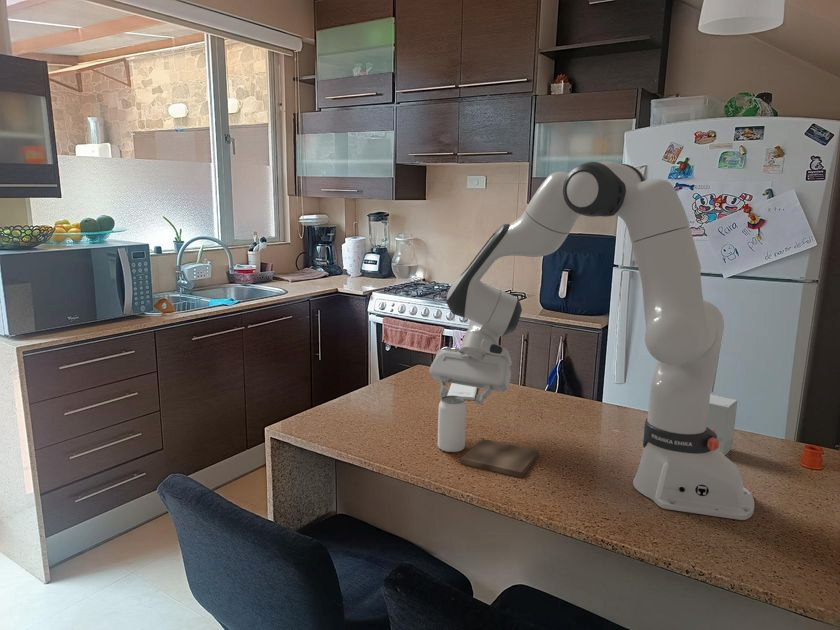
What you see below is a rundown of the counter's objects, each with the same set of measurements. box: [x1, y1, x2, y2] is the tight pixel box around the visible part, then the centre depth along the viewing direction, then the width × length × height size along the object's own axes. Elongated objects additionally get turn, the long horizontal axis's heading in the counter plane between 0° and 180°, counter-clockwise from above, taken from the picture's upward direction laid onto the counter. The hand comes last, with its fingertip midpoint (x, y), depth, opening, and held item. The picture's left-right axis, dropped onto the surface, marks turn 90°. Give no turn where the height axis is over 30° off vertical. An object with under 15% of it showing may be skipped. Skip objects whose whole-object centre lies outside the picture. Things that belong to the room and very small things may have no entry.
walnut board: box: [460, 438, 540, 478], centre depth 138 cm, size 14×13×1 cm
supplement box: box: [707, 394, 738, 456], centre depth 144 cm, size 7×7×13 cm
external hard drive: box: [447, 383, 478, 401], centre depth 184 cm, size 2×8×12 cm
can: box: [437, 396, 467, 453], centre depth 143 cm, size 6×6×12 cm
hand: (460, 399), depth 146 cm, fingers open, 8 cm apart
